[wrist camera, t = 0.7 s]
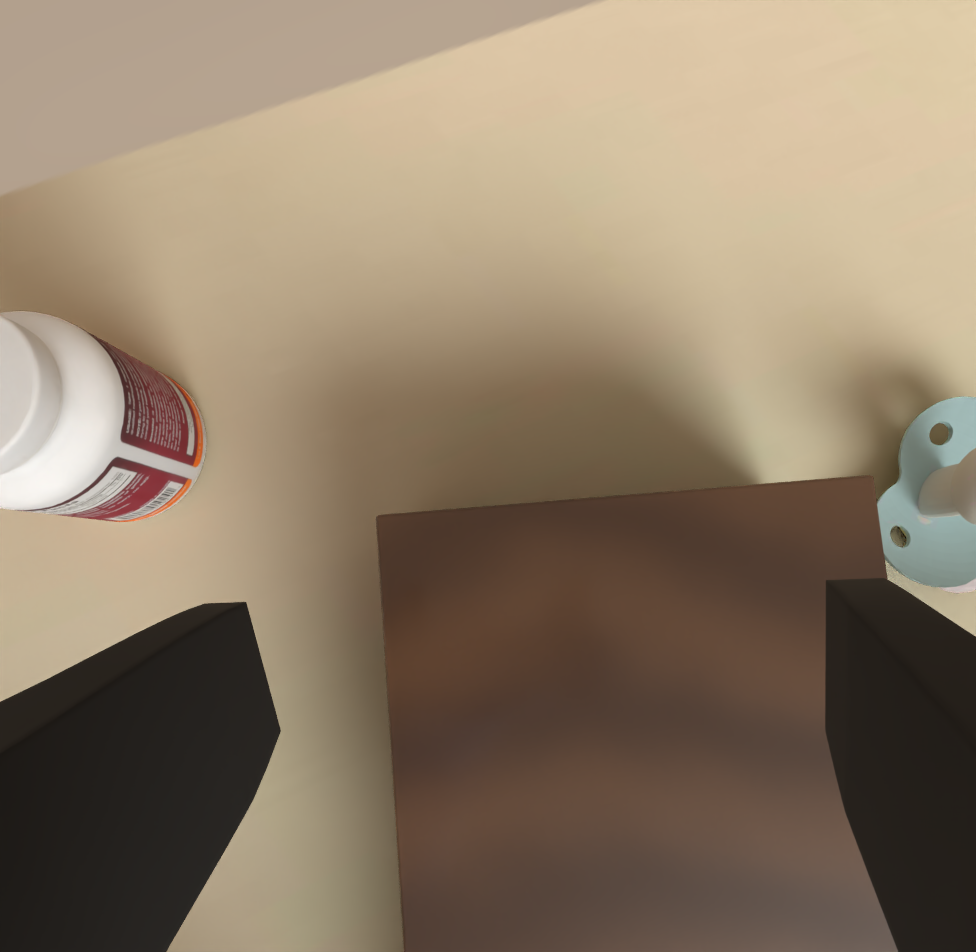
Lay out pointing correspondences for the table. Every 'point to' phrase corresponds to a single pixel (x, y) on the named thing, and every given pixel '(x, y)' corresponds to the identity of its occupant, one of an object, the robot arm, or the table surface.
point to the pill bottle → (90, 426)
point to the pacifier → (935, 500)
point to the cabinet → (625, 722)
